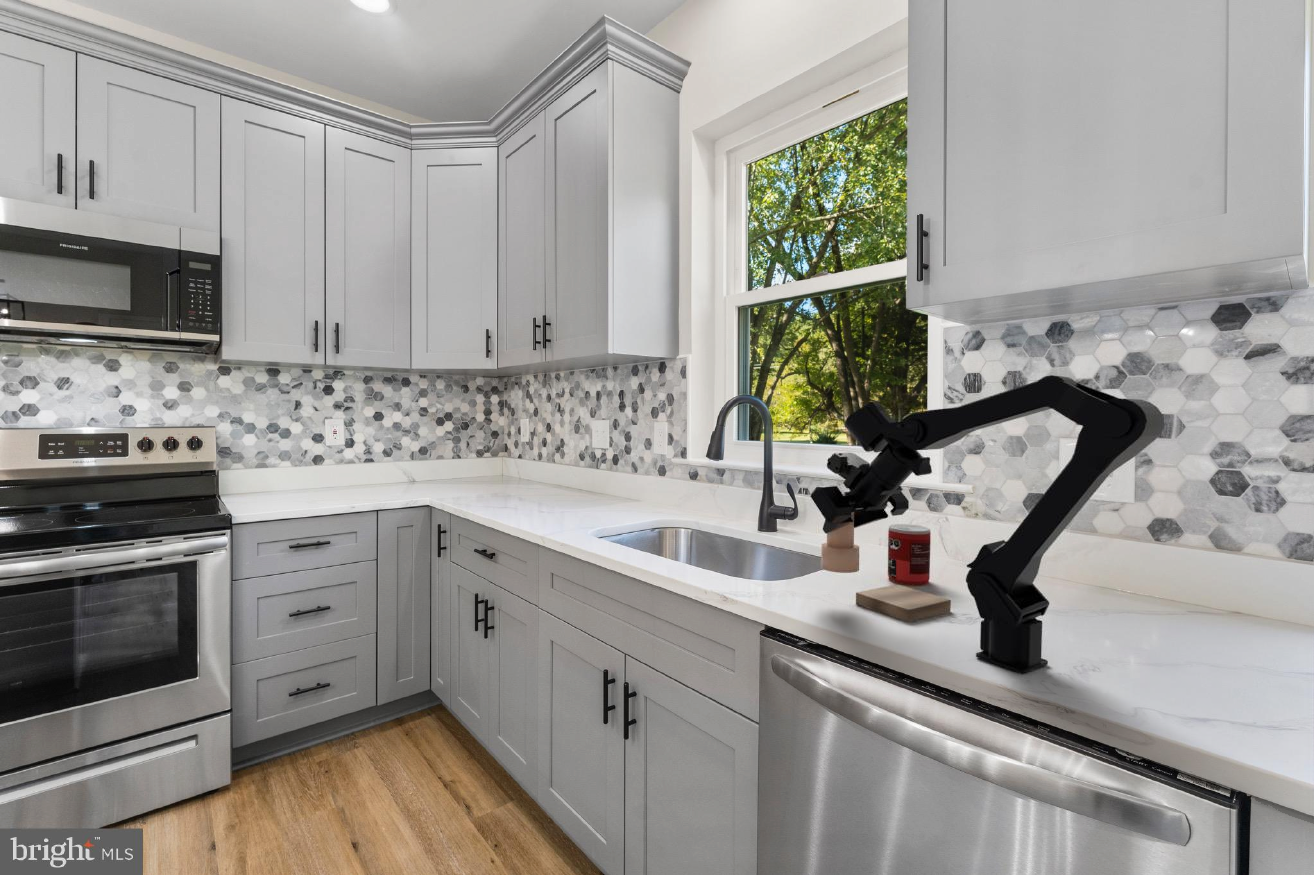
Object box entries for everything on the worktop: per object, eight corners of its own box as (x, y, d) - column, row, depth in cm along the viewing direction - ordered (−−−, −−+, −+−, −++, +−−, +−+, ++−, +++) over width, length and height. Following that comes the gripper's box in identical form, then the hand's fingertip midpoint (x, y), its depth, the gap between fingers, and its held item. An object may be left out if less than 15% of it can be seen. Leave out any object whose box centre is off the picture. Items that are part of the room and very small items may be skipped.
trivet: (950, 611, 104) (950, 599, 104) (908, 621, 99) (908, 609, 99) (896, 594, 114) (896, 584, 114) (855, 603, 108) (855, 592, 108)
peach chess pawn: (867, 569, 106) (867, 507, 106) (841, 574, 103) (841, 510, 102) (839, 562, 111) (839, 503, 111) (813, 566, 108) (814, 505, 108)
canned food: (891, 574, 129) (892, 522, 129) (931, 579, 125) (932, 526, 125) (884, 582, 123) (885, 528, 122) (926, 588, 118) (928, 532, 118)
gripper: (895, 436, 108) (846, 492, 118) (819, 437, 98) (773, 498, 108) (934, 484, 101) (879, 539, 111) (857, 490, 92) (804, 550, 101)
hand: (834, 530), depth 108 cm, fingers closed on peach chess pawn, 5 cm apart
